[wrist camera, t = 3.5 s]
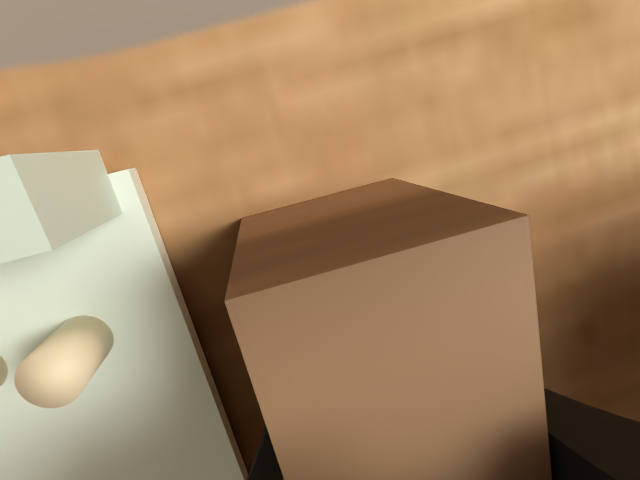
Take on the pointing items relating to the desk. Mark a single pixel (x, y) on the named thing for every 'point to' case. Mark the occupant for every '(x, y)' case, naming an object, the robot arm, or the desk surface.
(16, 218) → the peg frame
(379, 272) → the brown rectangular block
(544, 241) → the desk surface
